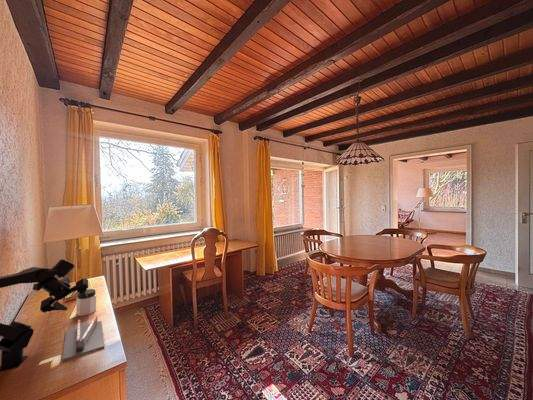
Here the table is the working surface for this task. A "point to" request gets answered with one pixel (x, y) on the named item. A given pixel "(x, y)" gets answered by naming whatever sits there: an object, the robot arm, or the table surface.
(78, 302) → the jar
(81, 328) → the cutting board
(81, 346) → the tongs fixed arm
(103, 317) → the table surface
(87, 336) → the tongs moving arm
